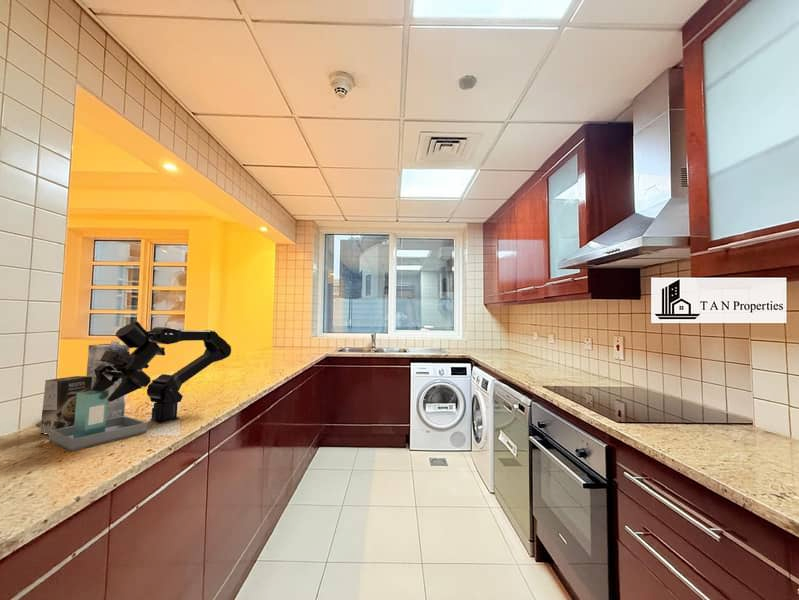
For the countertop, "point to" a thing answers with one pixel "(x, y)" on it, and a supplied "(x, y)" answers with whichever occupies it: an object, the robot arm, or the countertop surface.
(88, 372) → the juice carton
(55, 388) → the coffee box
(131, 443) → the countertop surface
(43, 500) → the countertop surface
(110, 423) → the tray
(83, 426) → the tea tin
